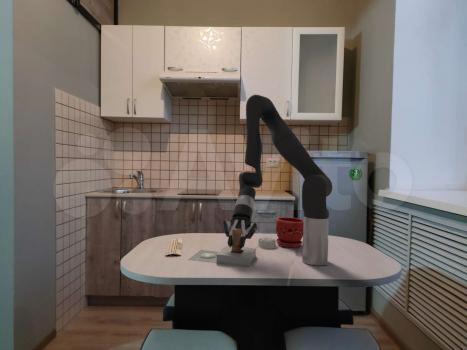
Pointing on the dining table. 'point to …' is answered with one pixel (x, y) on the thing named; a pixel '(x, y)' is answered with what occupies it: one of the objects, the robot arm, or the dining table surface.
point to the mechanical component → (266, 243)
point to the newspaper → (174, 246)
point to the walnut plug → (236, 240)
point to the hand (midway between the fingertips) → (235, 246)
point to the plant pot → (289, 231)
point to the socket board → (227, 256)
